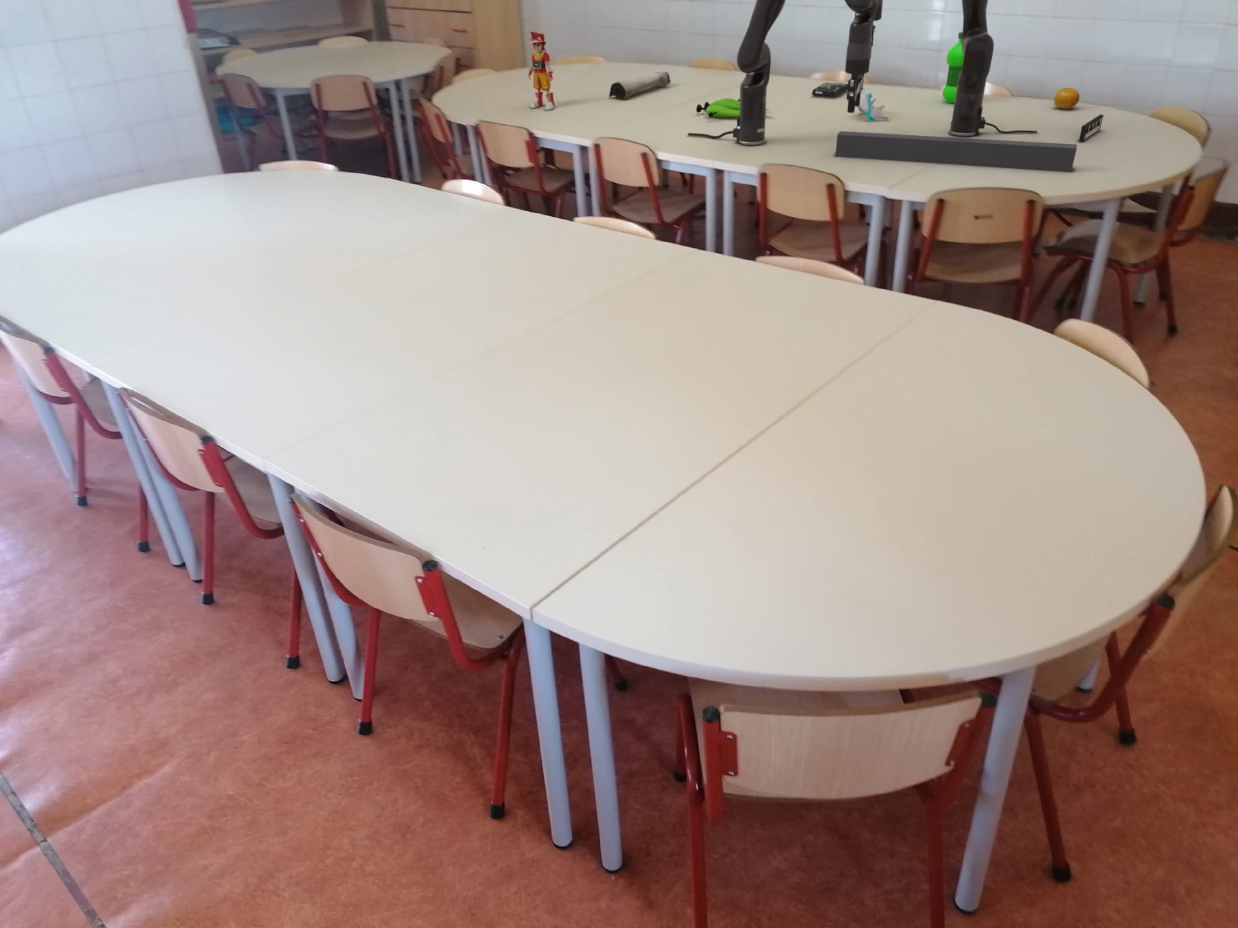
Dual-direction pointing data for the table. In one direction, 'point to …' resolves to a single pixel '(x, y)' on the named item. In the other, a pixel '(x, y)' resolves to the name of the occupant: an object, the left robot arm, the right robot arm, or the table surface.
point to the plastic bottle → (953, 70)
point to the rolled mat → (638, 84)
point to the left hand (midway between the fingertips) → (853, 109)
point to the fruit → (1066, 98)
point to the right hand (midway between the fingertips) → (866, 56)
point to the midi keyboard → (1091, 127)
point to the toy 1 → (541, 71)
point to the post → (957, 150)
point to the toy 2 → (722, 108)
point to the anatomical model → (870, 107)
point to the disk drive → (830, 90)
